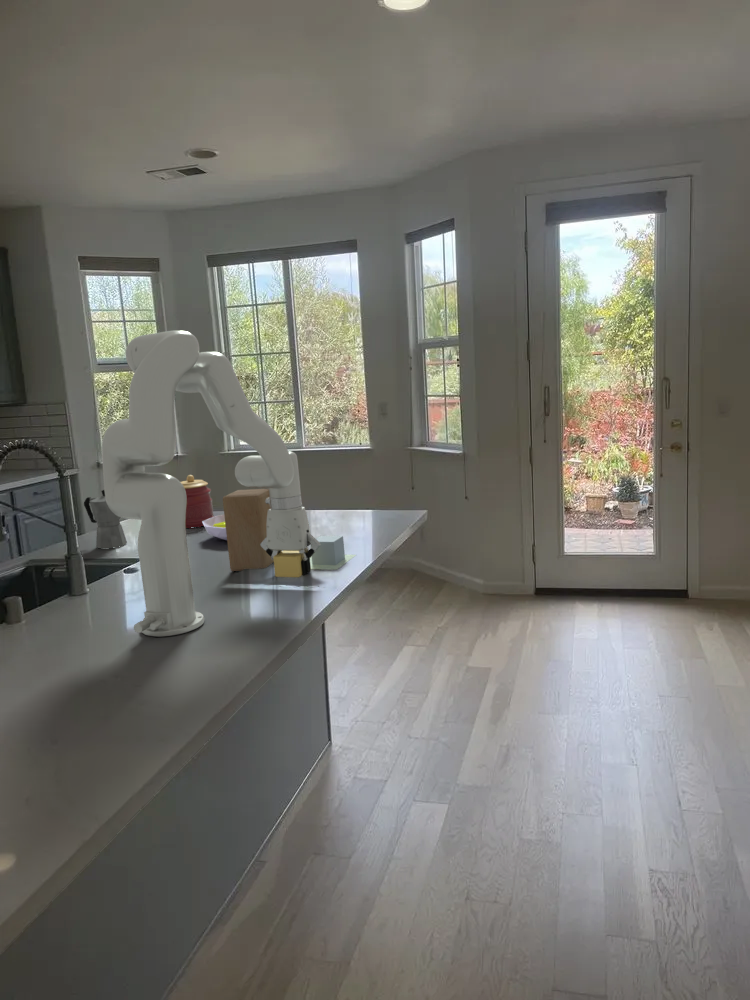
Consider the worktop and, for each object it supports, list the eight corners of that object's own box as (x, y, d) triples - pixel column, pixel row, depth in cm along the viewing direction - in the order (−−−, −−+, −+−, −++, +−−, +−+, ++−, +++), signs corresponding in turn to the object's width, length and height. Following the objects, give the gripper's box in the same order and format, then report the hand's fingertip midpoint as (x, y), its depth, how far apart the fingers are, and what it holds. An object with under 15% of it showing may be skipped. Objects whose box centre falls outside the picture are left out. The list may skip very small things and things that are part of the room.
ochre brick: (299, 581, 176) (297, 557, 175) (275, 580, 179) (273, 556, 178) (310, 573, 182) (308, 550, 181) (287, 573, 185) (284, 549, 184)
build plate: (336, 573, 181) (336, 569, 181) (285, 572, 185) (285, 568, 185) (356, 558, 194) (356, 554, 194) (308, 557, 198) (308, 554, 198)
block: (266, 572, 187) (258, 494, 184) (229, 572, 189) (220, 496, 186) (278, 561, 197) (271, 488, 193) (243, 562, 199) (235, 489, 195)
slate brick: (335, 565, 185) (333, 541, 184) (312, 564, 187) (310, 541, 186) (344, 558, 191) (343, 535, 190) (322, 558, 193) (320, 535, 192)
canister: (222, 522, 258) (217, 472, 255) (195, 530, 247) (189, 478, 244) (196, 520, 265) (190, 471, 262) (168, 528, 254) (162, 477, 251)
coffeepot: (138, 542, 234) (131, 487, 231) (117, 550, 225) (109, 492, 222) (101, 541, 240) (93, 487, 237) (79, 548, 232) (71, 492, 228)
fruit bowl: (187, 546, 223) (183, 510, 221) (231, 526, 248) (228, 493, 246) (270, 547, 214) (267, 509, 212) (308, 526, 239) (304, 492, 237)
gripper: (246, 506, 177) (254, 578, 180) (312, 505, 171) (319, 580, 174) (261, 500, 184) (268, 569, 187) (325, 499, 178) (331, 571, 181)
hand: (293, 574), depth 180 cm, fingers closed on ochre brick, 6 cm apart
